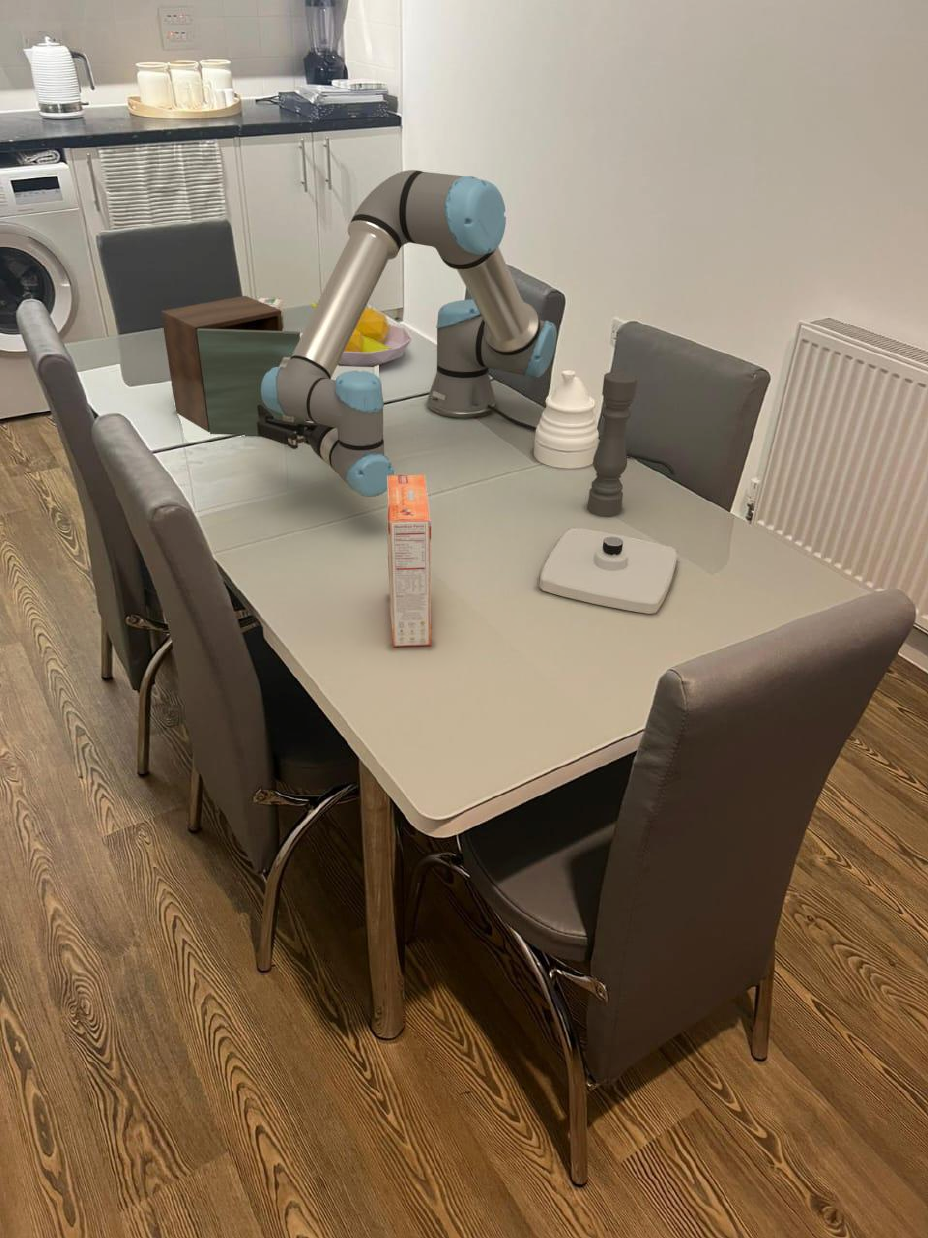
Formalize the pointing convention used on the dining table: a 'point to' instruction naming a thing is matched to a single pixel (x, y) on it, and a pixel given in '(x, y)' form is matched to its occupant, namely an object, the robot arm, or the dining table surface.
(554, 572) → the showerhead
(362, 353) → the fruit bowl
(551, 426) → the honey pot
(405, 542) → the cracker box
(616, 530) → the dining table surface
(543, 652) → the dining table surface
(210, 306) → the cupboard
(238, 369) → the cupboard door
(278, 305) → the syrup box
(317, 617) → the dining table surface
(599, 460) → the candle holder
